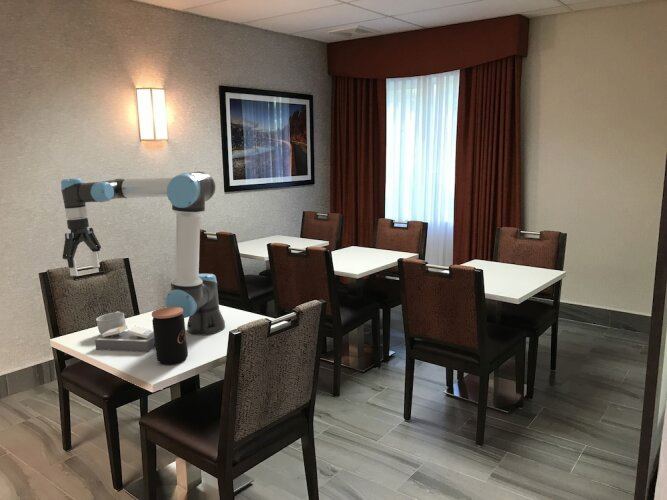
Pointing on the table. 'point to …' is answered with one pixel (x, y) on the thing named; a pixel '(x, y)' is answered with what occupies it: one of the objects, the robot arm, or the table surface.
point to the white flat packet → (140, 332)
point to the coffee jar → (169, 335)
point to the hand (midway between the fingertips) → (85, 271)
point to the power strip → (125, 342)
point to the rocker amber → (114, 331)
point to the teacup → (110, 321)
